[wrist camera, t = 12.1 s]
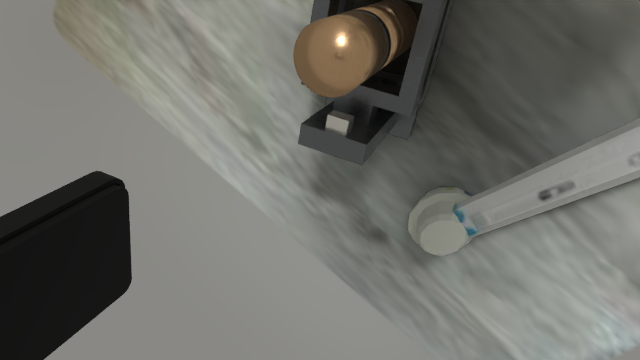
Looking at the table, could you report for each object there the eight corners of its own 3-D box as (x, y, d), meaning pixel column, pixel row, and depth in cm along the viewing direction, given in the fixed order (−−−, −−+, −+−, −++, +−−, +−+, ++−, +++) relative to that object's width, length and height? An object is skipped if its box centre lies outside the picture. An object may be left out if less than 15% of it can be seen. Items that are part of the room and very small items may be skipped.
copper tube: (371, -7, 38) (299, 10, 26) (424, 6, 37) (373, 29, 25) (360, 48, 40) (288, 85, 28) (410, 61, 39) (356, 106, 27)
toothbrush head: (791, 143, 28) (422, 284, 39) (734, 119, 34) (428, 246, 45) (758, 67, 28) (390, 232, 38) (705, 56, 34) (400, 200, 44)
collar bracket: (460, -17, 35) (436, -9, 27) (414, 137, 41) (384, 183, 33) (351, -41, 37) (298, -40, 29) (323, 109, 44) (273, 145, 35)
